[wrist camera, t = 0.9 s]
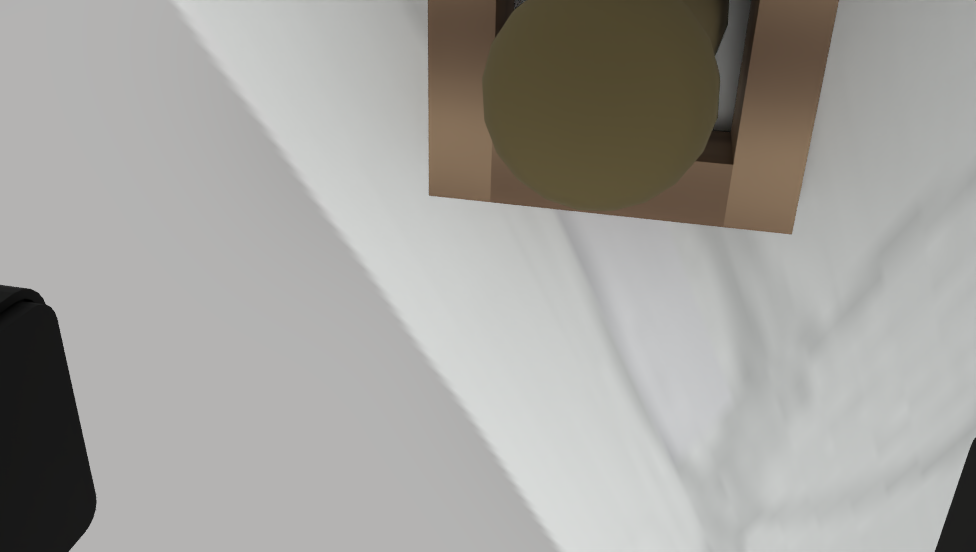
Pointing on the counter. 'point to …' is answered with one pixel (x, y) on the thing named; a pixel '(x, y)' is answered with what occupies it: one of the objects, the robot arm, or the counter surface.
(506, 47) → the cork
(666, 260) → the counter surface
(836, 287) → the counter surface
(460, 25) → the socket block
